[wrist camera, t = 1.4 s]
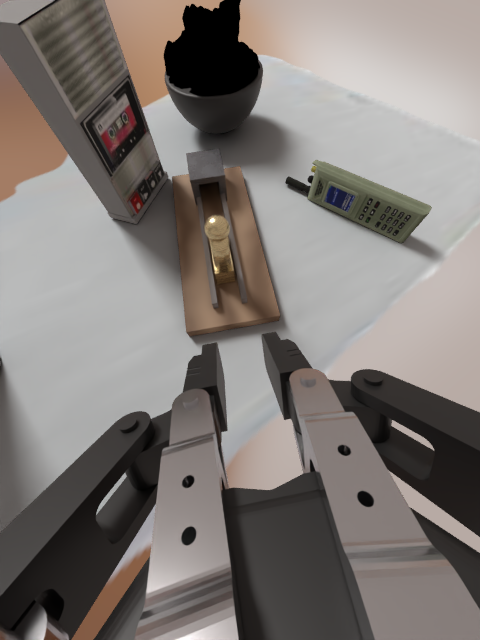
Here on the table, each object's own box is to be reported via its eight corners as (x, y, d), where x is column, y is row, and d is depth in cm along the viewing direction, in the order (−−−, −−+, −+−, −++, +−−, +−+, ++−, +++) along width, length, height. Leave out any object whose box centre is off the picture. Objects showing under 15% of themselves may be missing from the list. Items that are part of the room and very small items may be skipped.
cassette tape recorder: (138, 225, 45) (23, 25, 22) (111, 218, 46) (-26, 19, 23) (169, 178, 50) (102, -26, 27) (144, 173, 51) (59, -29, 28)
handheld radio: (400, 247, 41) (281, 190, 48) (406, 235, 42) (289, 181, 49) (427, 215, 35) (286, 155, 42) (434, 203, 36) (296, 146, 43)
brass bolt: (217, 287, 37) (203, 230, 26) (210, 245, 40) (195, 179, 29) (236, 284, 37) (230, 226, 26) (227, 242, 40) (219, 175, 29)
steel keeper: (196, 205, 44) (189, 180, 39) (192, 179, 47) (186, 153, 42) (227, 200, 44) (225, 174, 39) (222, 175, 47) (219, 148, 42)
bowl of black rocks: (185, 161, 52) (154, 33, 35) (172, 112, 60) (141, -13, 42) (271, 143, 53) (282, 11, 36) (247, 98, 61) (247, -29, 44)
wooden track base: (189, 336, 36) (183, 328, 33) (174, 185, 49) (169, 168, 46) (278, 320, 36) (281, 310, 33) (240, 175, 50) (239, 158, 46)
